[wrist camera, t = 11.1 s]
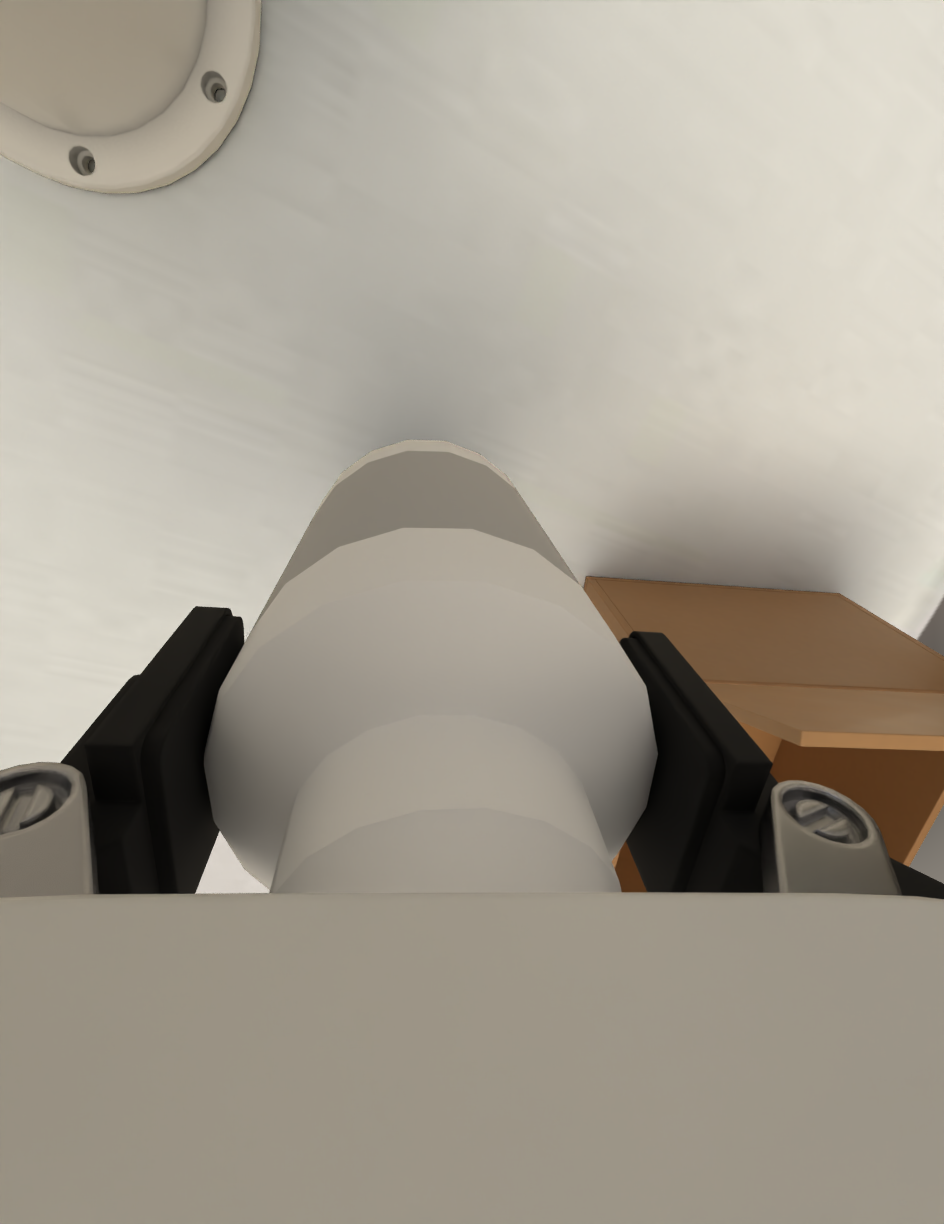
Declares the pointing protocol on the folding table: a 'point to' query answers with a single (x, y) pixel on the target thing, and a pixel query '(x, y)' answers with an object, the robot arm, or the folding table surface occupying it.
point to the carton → (796, 685)
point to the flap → (839, 716)
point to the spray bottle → (429, 699)
